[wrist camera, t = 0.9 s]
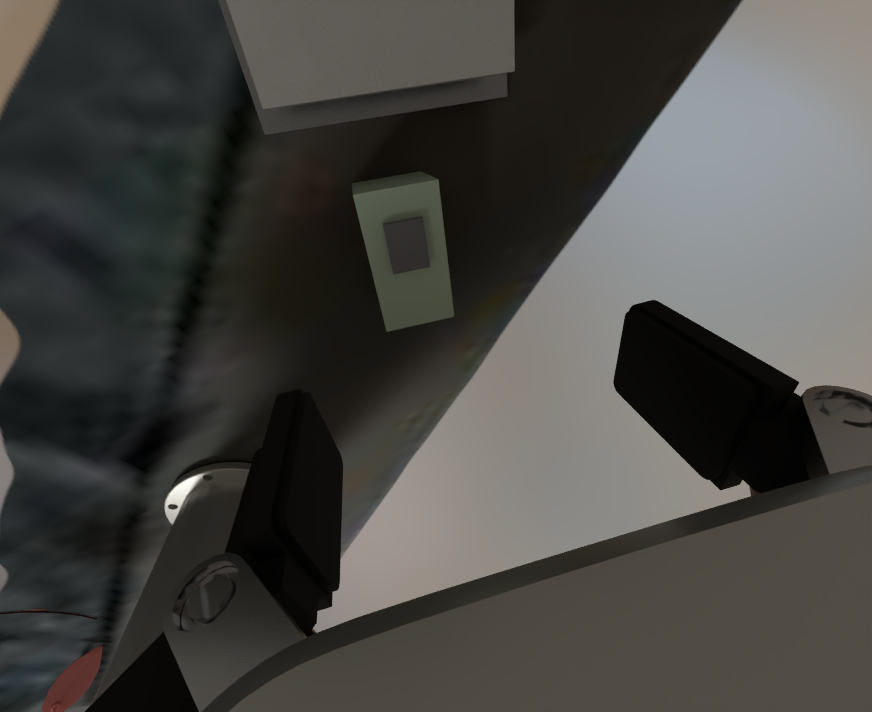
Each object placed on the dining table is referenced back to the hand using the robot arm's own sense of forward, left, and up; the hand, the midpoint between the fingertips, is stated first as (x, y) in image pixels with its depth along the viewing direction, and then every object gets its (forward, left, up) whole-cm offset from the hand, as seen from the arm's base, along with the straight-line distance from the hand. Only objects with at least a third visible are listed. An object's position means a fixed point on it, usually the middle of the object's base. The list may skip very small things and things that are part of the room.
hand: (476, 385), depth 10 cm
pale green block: (-1, 0, -20) cm, 20 cm away
